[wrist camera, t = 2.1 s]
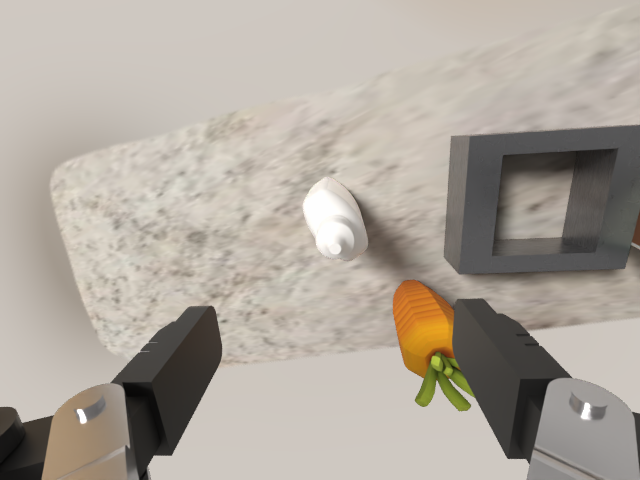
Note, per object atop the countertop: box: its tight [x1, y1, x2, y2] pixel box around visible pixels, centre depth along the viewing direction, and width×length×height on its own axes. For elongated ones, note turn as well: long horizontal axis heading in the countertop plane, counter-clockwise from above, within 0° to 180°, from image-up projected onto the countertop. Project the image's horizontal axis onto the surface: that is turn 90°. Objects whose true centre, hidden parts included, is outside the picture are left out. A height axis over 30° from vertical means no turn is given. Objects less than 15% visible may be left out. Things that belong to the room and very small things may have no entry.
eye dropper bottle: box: [303, 177, 368, 261], centre depth 24 cm, size 4×6×12 cm
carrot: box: [393, 280, 475, 411], centre depth 24 cm, size 5×5×15 cm
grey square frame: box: [444, 125, 640, 274], centre depth 26 cm, size 13×11×4 cm
